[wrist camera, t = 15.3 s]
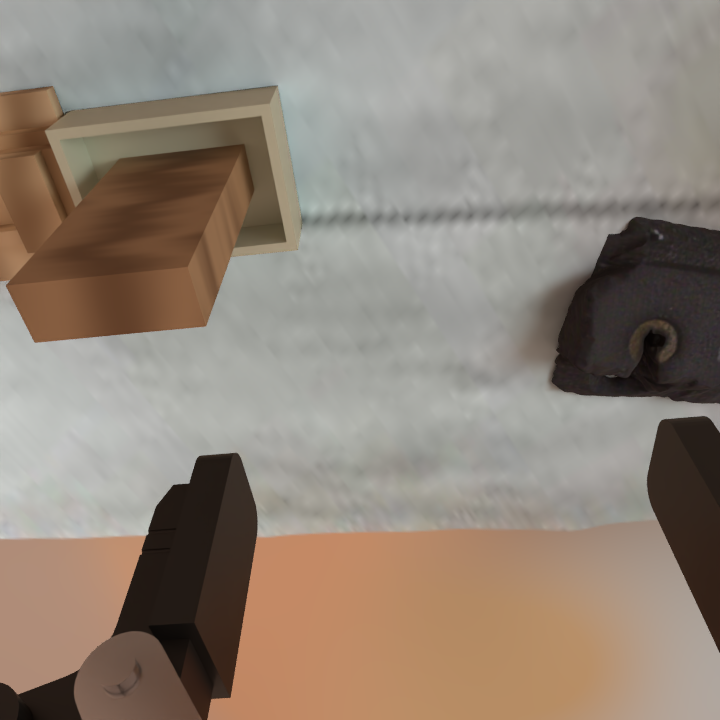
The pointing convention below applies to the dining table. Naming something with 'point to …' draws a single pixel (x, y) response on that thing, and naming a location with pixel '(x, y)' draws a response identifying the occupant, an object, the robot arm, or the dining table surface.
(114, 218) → the board
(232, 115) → the tray
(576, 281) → the dining table surface
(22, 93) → the rack
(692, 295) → the dark slate chunk
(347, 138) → the dining table surface
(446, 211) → the dining table surface
